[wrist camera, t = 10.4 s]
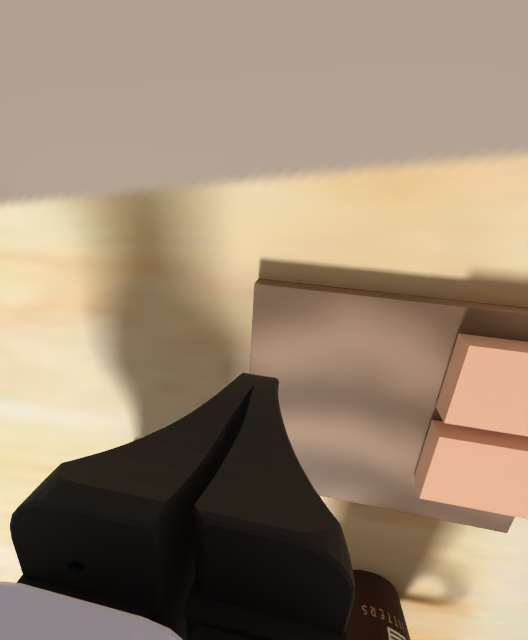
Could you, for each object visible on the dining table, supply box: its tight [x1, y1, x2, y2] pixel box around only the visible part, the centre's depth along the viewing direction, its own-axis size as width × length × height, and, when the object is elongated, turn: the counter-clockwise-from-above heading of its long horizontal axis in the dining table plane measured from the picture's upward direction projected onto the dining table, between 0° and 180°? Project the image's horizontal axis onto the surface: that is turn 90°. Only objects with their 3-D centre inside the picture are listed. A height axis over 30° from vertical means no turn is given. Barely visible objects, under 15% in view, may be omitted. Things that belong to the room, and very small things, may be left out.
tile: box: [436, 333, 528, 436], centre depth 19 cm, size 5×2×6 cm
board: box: [250, 279, 528, 533], centre depth 22 cm, size 16×19×1 cm
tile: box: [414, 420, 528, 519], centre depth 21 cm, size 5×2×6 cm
